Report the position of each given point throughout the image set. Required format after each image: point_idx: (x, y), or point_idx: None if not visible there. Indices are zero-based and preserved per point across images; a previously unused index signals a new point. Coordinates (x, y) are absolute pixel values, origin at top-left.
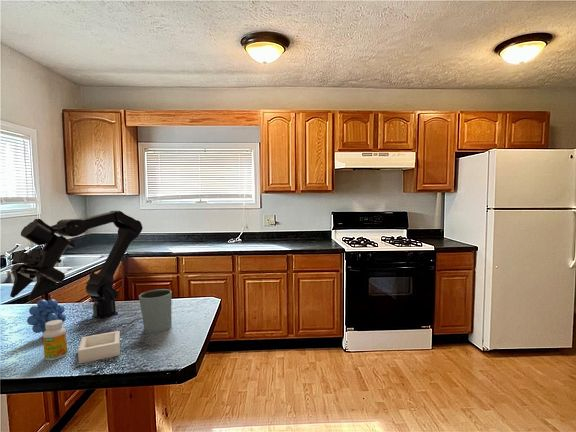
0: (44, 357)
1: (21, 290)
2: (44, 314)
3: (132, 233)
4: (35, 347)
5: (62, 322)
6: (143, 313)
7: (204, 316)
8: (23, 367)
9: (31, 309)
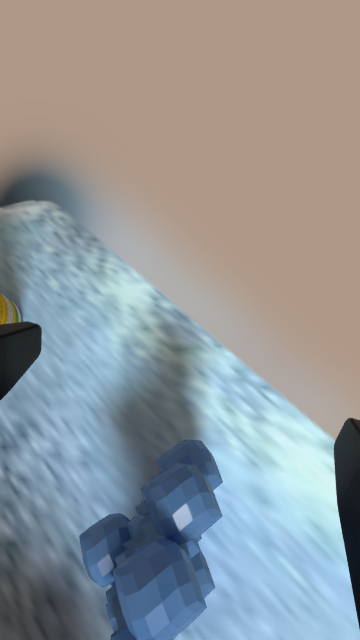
0: (11, 300)
1: (353, 571)
2: (132, 520)
3: None
4: (124, 386)
5: None
6: None
7: None
8: (46, 253)
9: (175, 470)
